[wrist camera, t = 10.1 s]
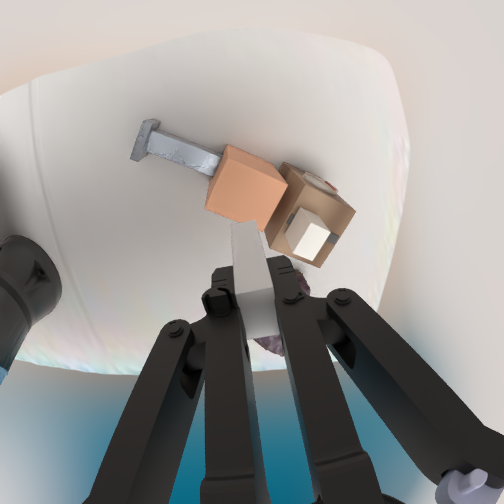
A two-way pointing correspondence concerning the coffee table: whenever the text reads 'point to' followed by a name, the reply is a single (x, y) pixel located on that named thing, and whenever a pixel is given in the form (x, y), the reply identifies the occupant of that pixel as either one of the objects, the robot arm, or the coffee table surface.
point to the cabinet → (314, 200)
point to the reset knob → (306, 234)
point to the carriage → (245, 188)
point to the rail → (174, 149)
